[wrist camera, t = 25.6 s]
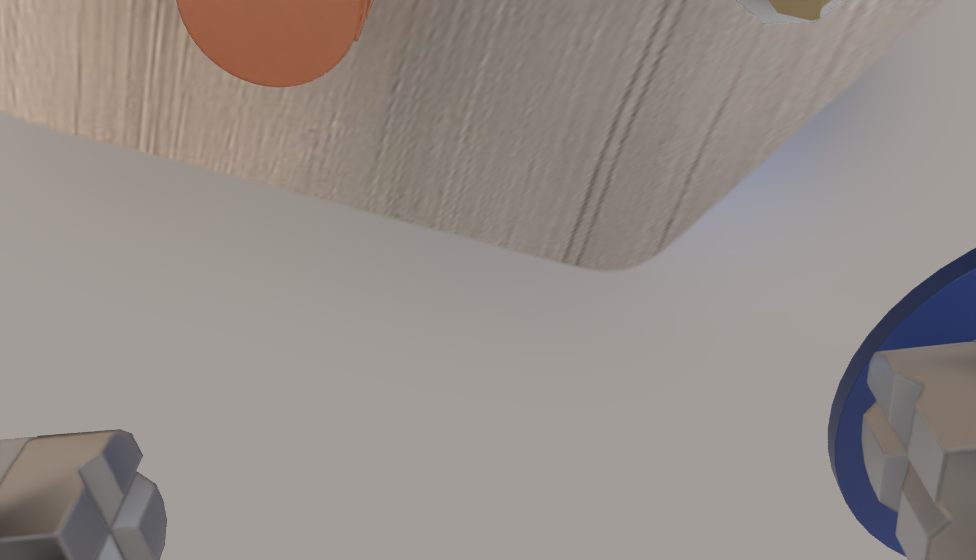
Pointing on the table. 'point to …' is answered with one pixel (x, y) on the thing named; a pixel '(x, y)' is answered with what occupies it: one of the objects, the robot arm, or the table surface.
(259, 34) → the jar
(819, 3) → the potion bottle
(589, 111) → the table surface
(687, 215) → the table surface
